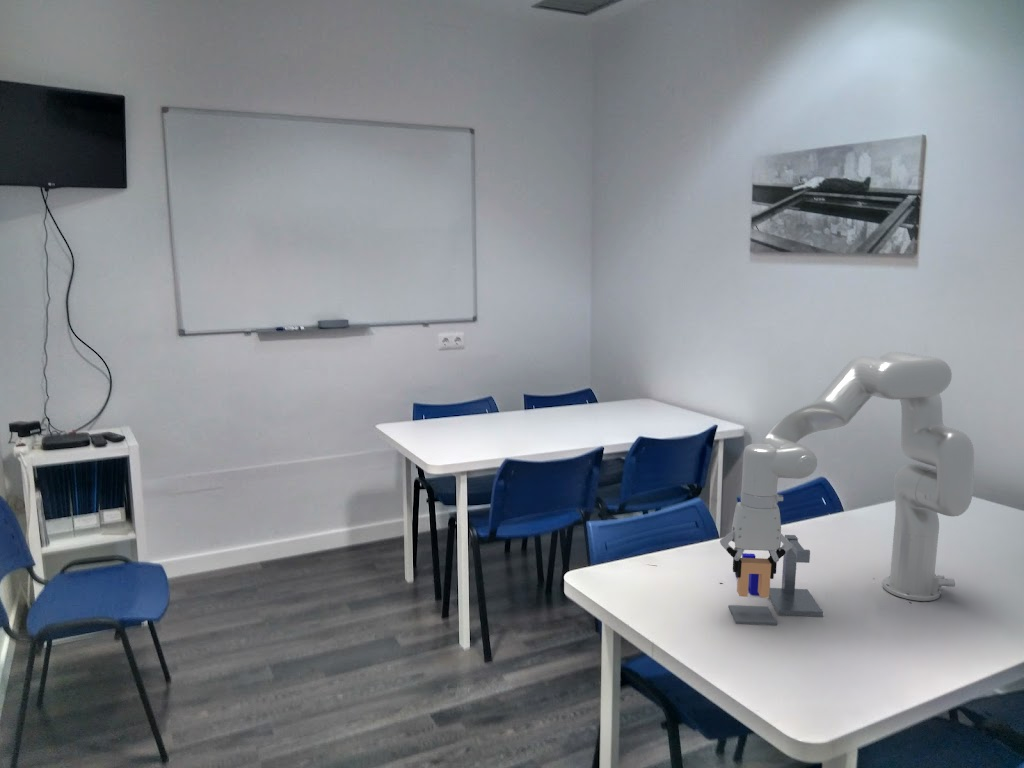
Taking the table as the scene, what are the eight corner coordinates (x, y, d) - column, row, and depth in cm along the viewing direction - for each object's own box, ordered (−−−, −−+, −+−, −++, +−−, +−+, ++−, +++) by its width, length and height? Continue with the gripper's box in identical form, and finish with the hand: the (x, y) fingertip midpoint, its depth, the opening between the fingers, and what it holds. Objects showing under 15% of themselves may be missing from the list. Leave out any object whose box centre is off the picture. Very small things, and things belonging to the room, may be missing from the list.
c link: (765, 591, 173) (767, 558, 172) (769, 597, 170) (771, 563, 169) (736, 590, 174) (738, 557, 172) (739, 596, 171) (741, 562, 169)
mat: (767, 608, 176) (768, 606, 176) (776, 625, 168) (777, 622, 168) (728, 607, 177) (728, 605, 177) (735, 623, 169) (735, 621, 169)
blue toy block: (735, 575, 196) (736, 553, 195) (753, 575, 195) (754, 553, 194) (743, 595, 184) (745, 571, 183) (762, 596, 183) (764, 572, 182)
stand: (806, 593, 184) (811, 533, 182) (822, 616, 172) (827, 552, 170) (764, 592, 185) (768, 532, 182) (777, 615, 173) (781, 551, 171)
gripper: (793, 495, 171) (788, 570, 174) (715, 493, 173) (711, 567, 175) (803, 506, 164) (798, 584, 167) (722, 503, 165) (718, 581, 168)
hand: (753, 575), depth 171 cm, fingers closed on c link, 6 cm apart
